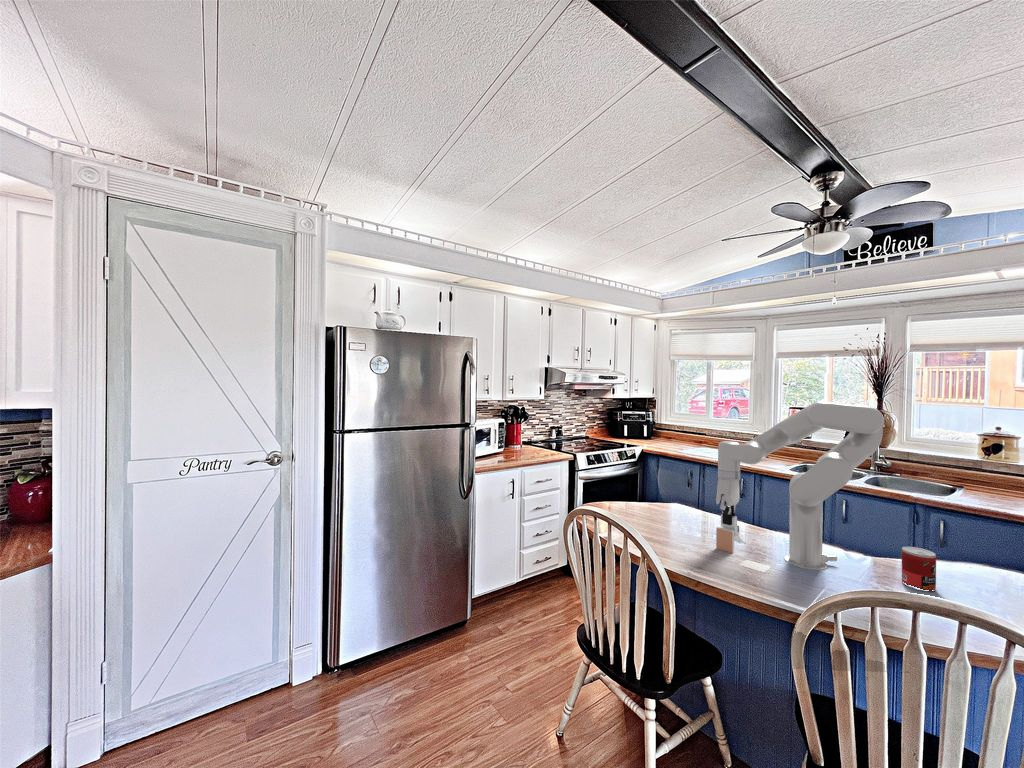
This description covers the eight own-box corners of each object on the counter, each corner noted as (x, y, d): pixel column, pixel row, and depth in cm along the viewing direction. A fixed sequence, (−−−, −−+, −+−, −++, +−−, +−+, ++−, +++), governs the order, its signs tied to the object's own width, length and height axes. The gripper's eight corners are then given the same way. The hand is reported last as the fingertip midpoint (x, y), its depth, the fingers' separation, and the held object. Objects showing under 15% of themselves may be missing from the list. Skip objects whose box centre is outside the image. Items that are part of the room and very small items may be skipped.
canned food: (927, 594, 132) (928, 557, 132) (895, 583, 139) (896, 548, 139) (941, 589, 135) (941, 553, 135) (909, 579, 142) (909, 544, 142)
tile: (717, 548, 167) (717, 526, 167) (734, 552, 162) (734, 530, 162) (716, 548, 166) (716, 527, 166) (732, 553, 162) (732, 531, 162)
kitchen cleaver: (718, 523, 197) (744, 525, 193) (718, 526, 197) (744, 528, 192) (716, 541, 175) (745, 544, 171) (716, 543, 175) (745, 546, 171)
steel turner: (724, 532, 169) (722, 506, 169) (737, 535, 165) (736, 508, 165) (721, 533, 167) (720, 507, 168) (735, 536, 164) (734, 509, 164)
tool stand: (746, 561, 155) (746, 559, 155) (771, 569, 150) (771, 566, 150) (738, 567, 151) (738, 565, 151) (764, 574, 145) (764, 572, 145)
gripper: (727, 470, 175) (727, 517, 175) (709, 475, 164) (709, 525, 164) (747, 473, 169) (747, 521, 169) (730, 479, 158) (730, 530, 158)
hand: (728, 523), depth 166 cm, fingers closed on steel turner, 2 cm apart
